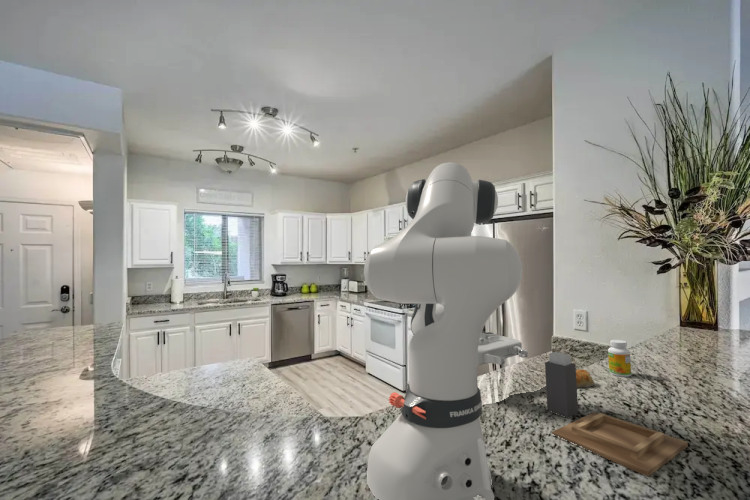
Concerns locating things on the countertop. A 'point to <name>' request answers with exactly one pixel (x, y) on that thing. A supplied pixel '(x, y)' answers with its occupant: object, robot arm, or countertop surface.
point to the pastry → (583, 378)
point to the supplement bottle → (619, 359)
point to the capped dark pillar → (561, 385)
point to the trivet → (622, 442)
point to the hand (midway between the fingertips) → (514, 357)
